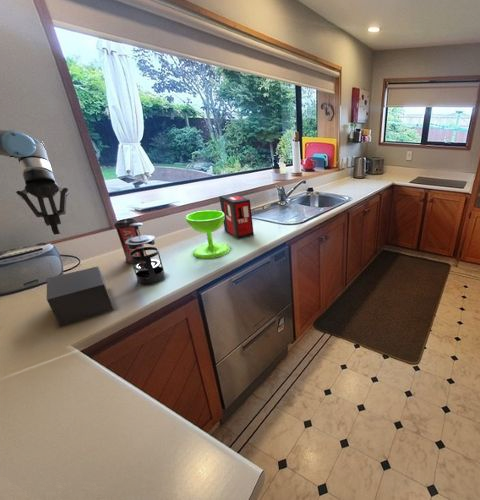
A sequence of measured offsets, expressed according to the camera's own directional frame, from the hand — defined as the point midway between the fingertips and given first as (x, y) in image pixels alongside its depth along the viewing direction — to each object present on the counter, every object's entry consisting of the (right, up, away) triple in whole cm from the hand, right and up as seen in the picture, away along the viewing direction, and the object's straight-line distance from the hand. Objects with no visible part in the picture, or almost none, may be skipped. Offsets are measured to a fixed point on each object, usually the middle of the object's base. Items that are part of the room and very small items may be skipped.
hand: (56, 232), depth 97 cm
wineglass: (+35, -7, +38) cm, 53 cm away
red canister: (+7, -10, +27) cm, 30 cm away
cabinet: (+14, -25, -4) cm, 29 cm away
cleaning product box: (+40, +3, +61) cm, 72 cm away
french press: (+24, -18, +14) cm, 32 cm away
